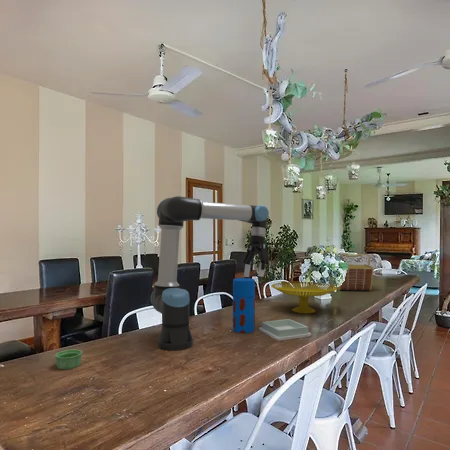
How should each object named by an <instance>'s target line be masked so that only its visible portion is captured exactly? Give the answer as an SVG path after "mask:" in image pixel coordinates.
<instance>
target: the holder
mask: <svg viewBox="0 0 450 450" xmlns="http://www.w3.org/2000/svg"><path fill="white" fill-rule="evenodd" d="M258 331H259V332H261V333H263V334H265V335H267V336H268V337H271V338H272V339H274V340H276V341H287V340H295V339H302V338H303V339H304V338H308V337H312V332H309V326H307V325H305V324H302V323H300V322H298V321H295V320H293V319H290V318H288V319H287V318H285V319H277V320H267V321H262V322H261V327H259V328H258Z"/></svg>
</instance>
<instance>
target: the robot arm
mask: <svg viewBox="0 0 450 450" xmlns="http://www.w3.org/2000/svg"><path fill="white" fill-rule="evenodd" d="M269 212H270V211H269V209H268V207H267V206H265V205H262V204H261V205H260V204H259V205H253V204H252V205H251V204H250V205H249V204H239V203H225V202H212V201H211V202H210V201H202V200H201V199H200V198H193V197H186V196H179V195H178V196H172V197H167V198H165V199H163V200H162V201H160V202H159V204H158V205H157V207H156V215H157V217H158V227H159V228H160V230H161V231H160V245H159V246H160V247H159V262H158V275H157V281H155V283H154V287H153V291H152V292H151V295H150V302H151V305H152V307H153V309H154V310H155V311H157V312H158V313H159V314H161V329H160V331H159V335H158V338H157V347H158V348H160V349H162V350H165V351H180V350H186V349H189V348H191V347H192V346H193V345H194V338H193V334H192V331H191V328H190V301H191V300H190V293H189V291H188V290H187V289H184V288H180V284H179V283H178V280H177V278H178V262H179V250H180V249H179V248H180V236H181V235H180V233H181V230H182V229H183V228H184V223H185V222H187V221H188V222H189V221H200V220H201V219H203V220H204V219H205V220H206V219H207V220H227V221H228V220H229V221H238V222H244V223H248V224H251V233H250V235H251V236H250V240H249V241H250V244H251V245H248V246H247V249H246V253H245V256H244V258H243V261H242V263H243V264H244V272H243V273H244V274H243V277H244V278H250V271H251V263H252V261H253V259H254V257H255V256H256V255H257V256H258V259H259V260H260V261H259V267H258V273H257V274H258V277H262V278H264V276H265V268H266V264H267V263H269V256H268V253H267V251H268V250H267V245H266V243H265V241H266V238H265V237H266V230H267V222H268V217H269V214H270V213H269Z"/></svg>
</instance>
